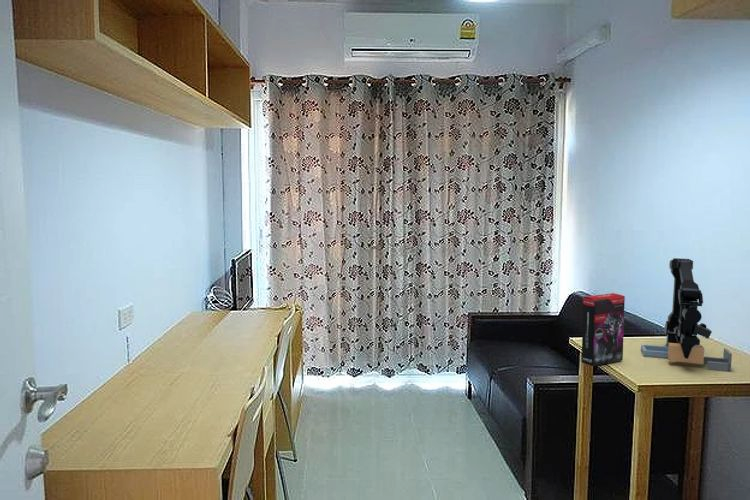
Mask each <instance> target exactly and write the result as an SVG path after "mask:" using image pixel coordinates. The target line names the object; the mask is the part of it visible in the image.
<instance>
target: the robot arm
mask: <svg viewBox="0 0 750 500" xmlns="http://www.w3.org/2000/svg"><path fill="white" fill-rule="evenodd" d="M668 264H669V265H668V266H669V269H670V273H671V274H672V277H673V293H672V310H671V312H670V313H669V315H668V316H667V320H666V321H665V325H664V328H663V330H664V334H665V336H666V344H665V346H666V347H668V344H669V343H679V344H680V345H681V348H682V351H683V354H684V357H685V358H687V359H688V357H689V354H690V352H691V349H692V347H693V346H695V345H701V340H700V338H699V337H698V336H701V337H703V338H705V339H708V340H709V338H710V337H711V334H712V333H713V331H712V330H711V329H709V328H708V327H707V324H705V323H703V322H701V320H702V317H703V315H702V313H701V312H700V311H699V310H698V307H703V303H704V296H703V293H702V290H701V289H700V288H699V284H697V283H696V282H695V281H694V280H695V279H694V276H693V270H694V260H692V259H690V258H675V257H674V258H673V259H671V260H670V261H669V263H668ZM699 322H701V323H700V324H698V323H699Z"/></svg>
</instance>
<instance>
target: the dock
mask: <svg viewBox="0 0 750 500" xmlns="http://www.w3.org/2000/svg"><path fill="white" fill-rule="evenodd" d="M722 354H723V356H722V357H716V356H715V357H714V356H704V361H703V365H706V369H707V370H708V371H721V372H729V373H730V372H732V371H731V369H732V357H733V354H732V352H731V351H730V350H729V349H728V348H727V347H726V348H723V353H722Z"/></svg>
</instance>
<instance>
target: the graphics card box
mask: <svg viewBox="0 0 750 500" xmlns="http://www.w3.org/2000/svg"><path fill="white" fill-rule="evenodd" d="M625 301H626V297H625V296H624V295H623V294H618V293H616V292H611V293H605V294H593V295H586V296H583V298H582V331H581V332H582V333H581V334H582V335H581V337H582V338H581V342H582V343H581V363H583V364H585V365H588V366H591V367H597V366H602V365H607V364H611V363H616V362H622V361H623V360H624V357H623V355H624V333H625V332H624V330H625V329H624V327H625V304H626V303H625Z"/></svg>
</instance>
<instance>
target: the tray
mask: <svg viewBox="0 0 750 500" xmlns="http://www.w3.org/2000/svg"><path fill="white" fill-rule="evenodd" d="M640 351H641V353H642V356H643V357H645V358H658V359H667V360H669V359H668V347H666V346H663V345H662V346H661V345H653V344H640Z"/></svg>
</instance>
